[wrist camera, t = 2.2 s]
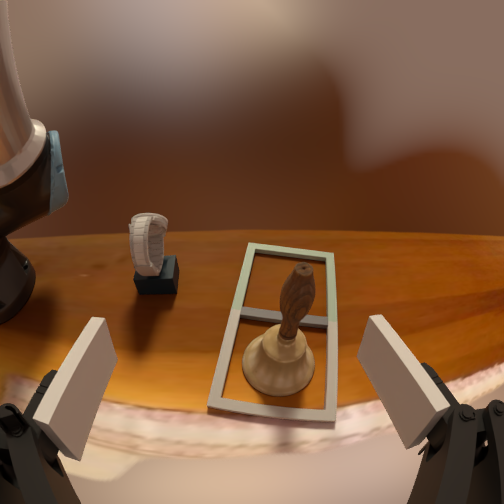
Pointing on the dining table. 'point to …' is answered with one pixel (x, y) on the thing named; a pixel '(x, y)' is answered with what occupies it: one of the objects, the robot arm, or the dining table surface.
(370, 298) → the dining table surface
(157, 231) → the watch
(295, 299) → the hand bell
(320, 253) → the window frame
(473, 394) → the dining table surface
